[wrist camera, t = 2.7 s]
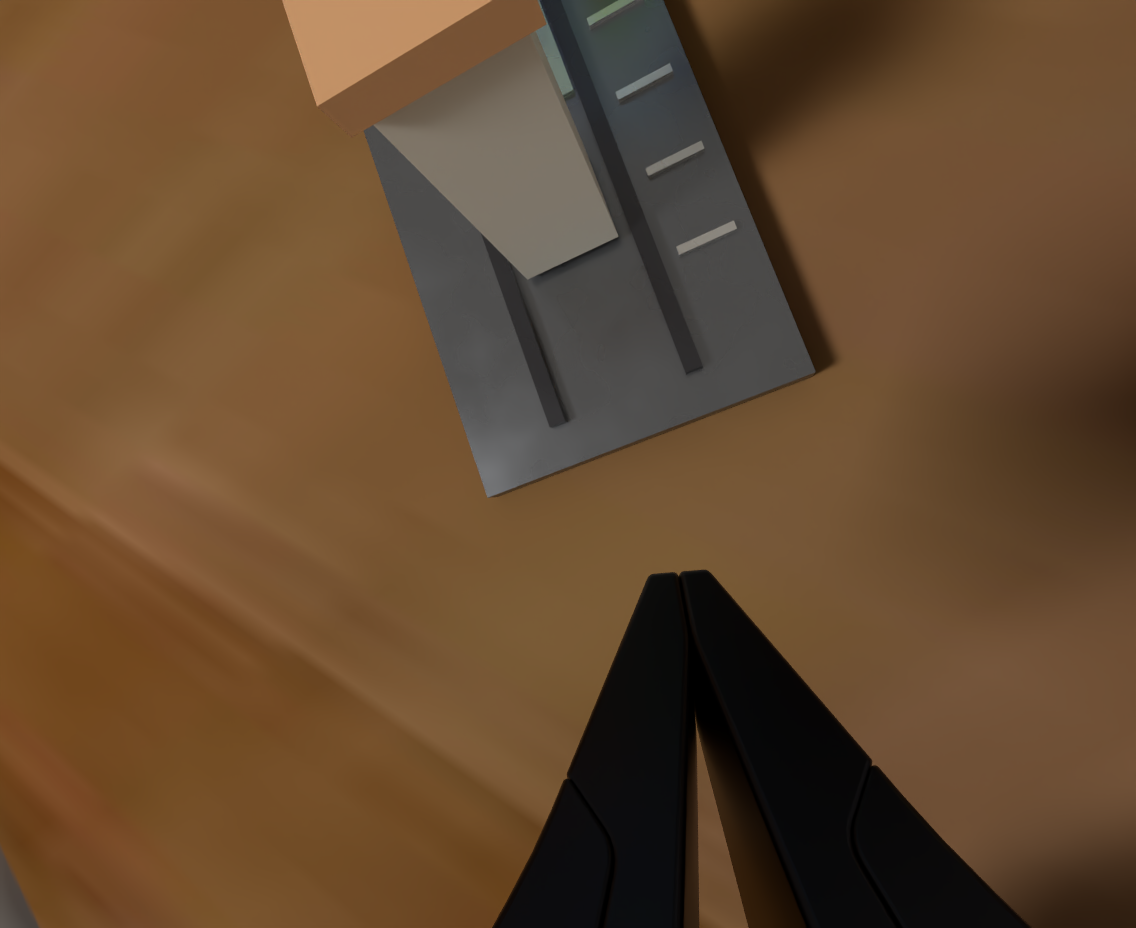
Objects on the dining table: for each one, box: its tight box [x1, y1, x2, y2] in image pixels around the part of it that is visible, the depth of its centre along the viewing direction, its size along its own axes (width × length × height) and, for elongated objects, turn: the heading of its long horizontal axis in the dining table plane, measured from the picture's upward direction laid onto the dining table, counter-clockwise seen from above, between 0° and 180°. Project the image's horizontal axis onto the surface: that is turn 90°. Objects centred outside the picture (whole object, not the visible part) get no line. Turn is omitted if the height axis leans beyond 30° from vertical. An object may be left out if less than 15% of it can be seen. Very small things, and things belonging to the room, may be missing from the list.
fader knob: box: [282, 0, 619, 280], centre depth 16 cm, size 4×4×11 cm
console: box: [364, 0, 816, 498], centre depth 21 cm, size 20×12×3 cm, turn 21°
